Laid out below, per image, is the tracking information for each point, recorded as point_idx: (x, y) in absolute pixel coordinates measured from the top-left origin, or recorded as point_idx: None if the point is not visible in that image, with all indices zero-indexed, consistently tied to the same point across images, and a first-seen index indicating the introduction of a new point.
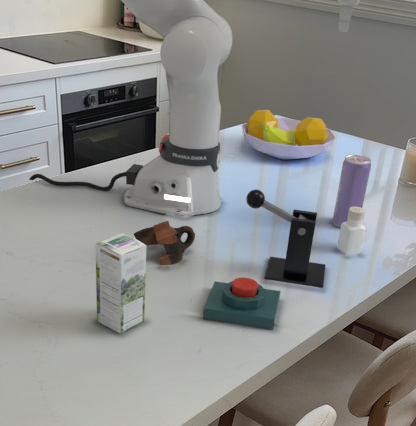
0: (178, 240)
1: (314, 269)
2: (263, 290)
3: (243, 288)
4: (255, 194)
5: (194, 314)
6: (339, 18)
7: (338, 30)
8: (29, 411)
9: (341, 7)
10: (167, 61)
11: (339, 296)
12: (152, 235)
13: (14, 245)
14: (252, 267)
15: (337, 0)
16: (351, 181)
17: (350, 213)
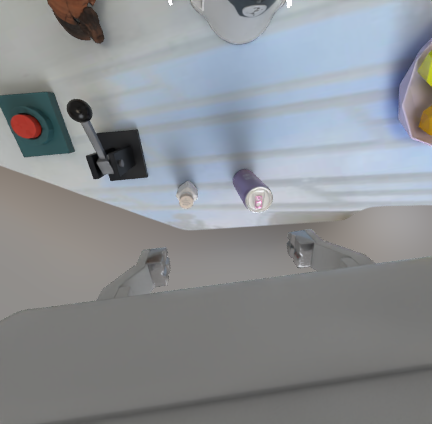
0: (75, 25)
1: (133, 170)
2: (40, 142)
3: (12, 127)
4: (68, 111)
5: (6, 86)
6: (128, 270)
7: (142, 251)
8: None
9: (99, 298)
10: None
11: (112, 192)
12: None
13: None
14: (119, 116)
15: (3, 319)
16: (240, 192)
17: (181, 196)
